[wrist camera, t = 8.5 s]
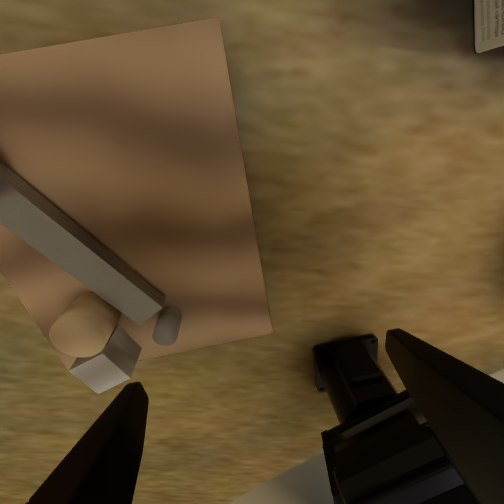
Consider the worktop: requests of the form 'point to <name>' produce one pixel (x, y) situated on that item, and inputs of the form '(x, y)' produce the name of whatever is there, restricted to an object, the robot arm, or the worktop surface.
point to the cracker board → (137, 186)
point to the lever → (74, 249)
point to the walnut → (84, 326)
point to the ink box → (488, 24)
